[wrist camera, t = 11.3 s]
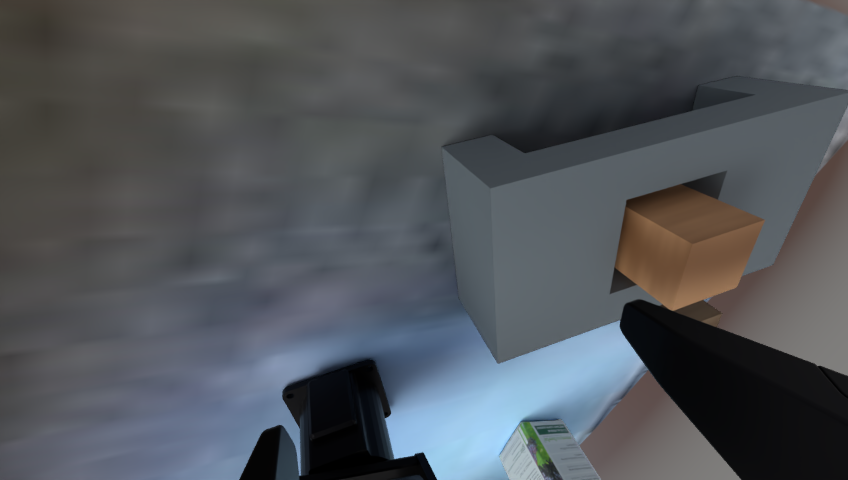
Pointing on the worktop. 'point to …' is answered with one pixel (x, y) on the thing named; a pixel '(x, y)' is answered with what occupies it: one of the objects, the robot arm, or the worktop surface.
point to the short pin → (701, 312)
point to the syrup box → (545, 454)
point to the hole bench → (620, 203)
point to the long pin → (684, 245)
